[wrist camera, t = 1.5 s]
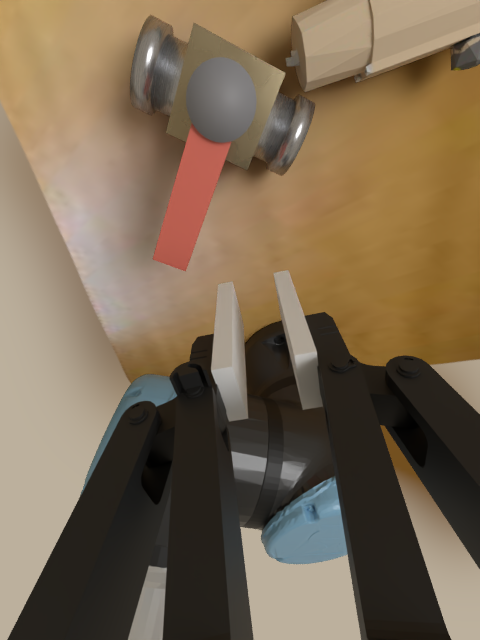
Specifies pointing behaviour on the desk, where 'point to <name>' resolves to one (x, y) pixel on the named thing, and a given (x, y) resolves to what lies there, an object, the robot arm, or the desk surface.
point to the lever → (204, 152)
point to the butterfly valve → (380, 37)
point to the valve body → (173, 77)
